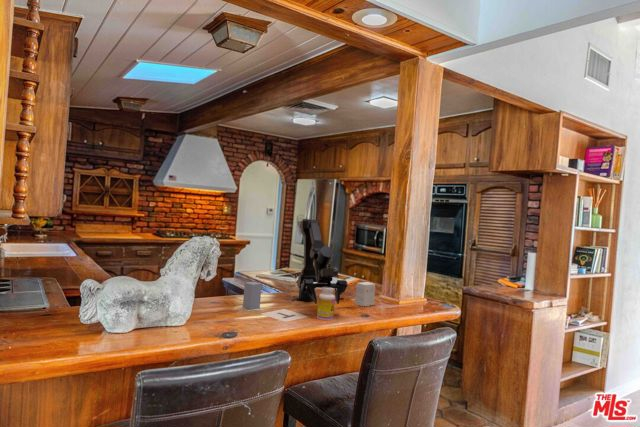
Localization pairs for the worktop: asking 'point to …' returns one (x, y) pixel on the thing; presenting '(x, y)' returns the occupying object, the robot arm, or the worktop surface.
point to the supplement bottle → (326, 304)
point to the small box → (365, 294)
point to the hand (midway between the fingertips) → (327, 303)
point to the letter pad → (284, 315)
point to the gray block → (252, 295)
